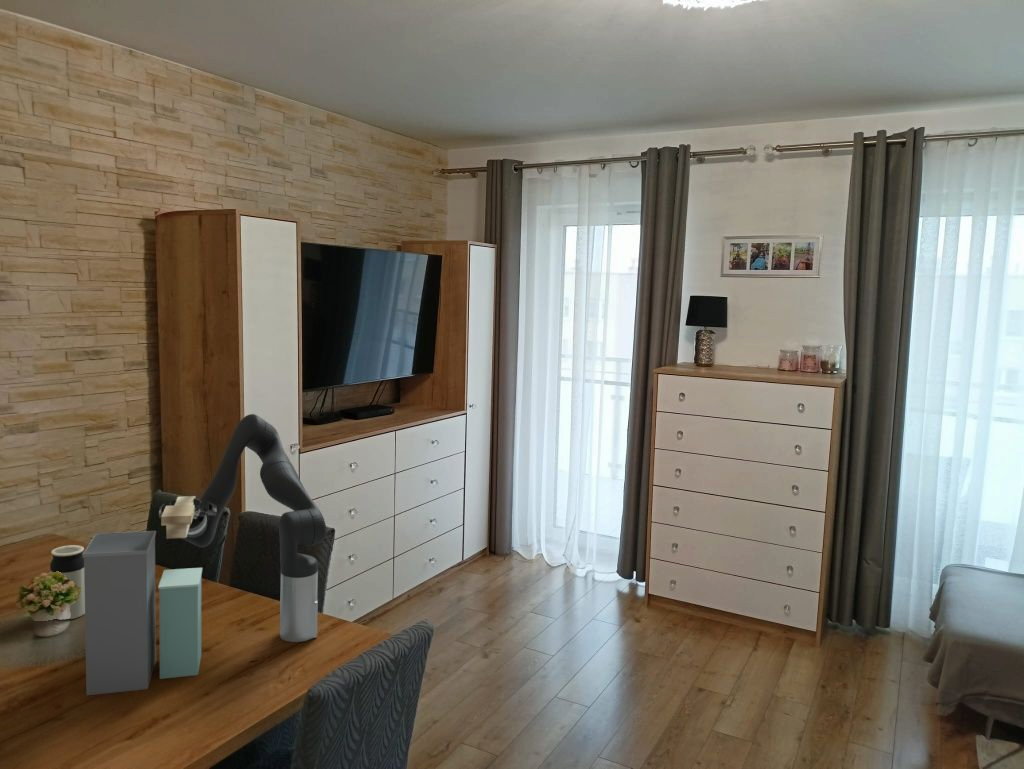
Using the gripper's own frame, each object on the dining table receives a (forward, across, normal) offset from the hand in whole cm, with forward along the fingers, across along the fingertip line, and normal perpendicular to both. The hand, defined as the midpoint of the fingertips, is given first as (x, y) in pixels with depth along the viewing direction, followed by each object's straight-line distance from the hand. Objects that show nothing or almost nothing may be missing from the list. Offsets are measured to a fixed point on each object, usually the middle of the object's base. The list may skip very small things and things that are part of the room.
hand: (184, 502), depth 179 cm
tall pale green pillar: (-11, 0, +37) cm, 38 cm away
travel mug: (-41, -31, +20) cm, 55 cm away
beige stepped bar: (+4, 0, +6) cm, 7 cm away
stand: (-9, -12, +38) cm, 41 cm away
